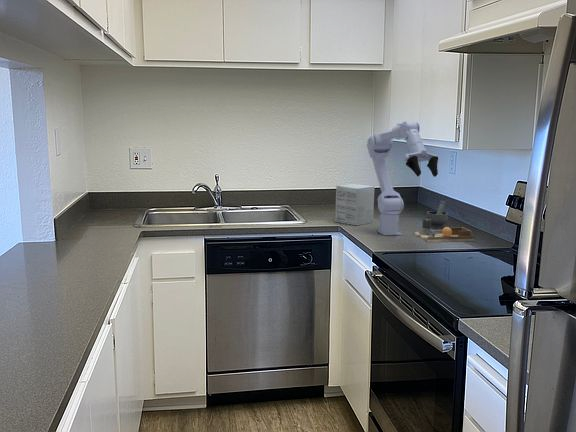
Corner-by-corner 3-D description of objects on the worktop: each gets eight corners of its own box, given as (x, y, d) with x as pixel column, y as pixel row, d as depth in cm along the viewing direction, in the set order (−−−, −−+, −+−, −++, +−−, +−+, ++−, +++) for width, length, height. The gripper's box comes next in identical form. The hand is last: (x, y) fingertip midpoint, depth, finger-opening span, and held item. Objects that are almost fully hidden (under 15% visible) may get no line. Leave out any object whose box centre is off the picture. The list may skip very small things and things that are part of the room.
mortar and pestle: (441, 230, 258) (443, 204, 256) (422, 227, 264) (423, 201, 262) (452, 227, 267) (454, 201, 265) (433, 224, 273) (435, 199, 271)
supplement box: (351, 218, 284) (353, 183, 281) (373, 222, 275) (375, 186, 272) (334, 221, 275) (335, 185, 272) (356, 226, 266) (357, 188, 263)
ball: (440, 235, 243) (440, 226, 242) (448, 235, 244) (449, 226, 243) (444, 237, 239) (444, 228, 239) (453, 237, 240) (453, 227, 239)
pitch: (413, 234, 250) (413, 224, 249) (456, 233, 254) (456, 224, 253) (428, 242, 235) (428, 232, 234) (473, 241, 238) (474, 231, 237)
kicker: (420, 232, 248) (421, 218, 247) (428, 232, 248) (429, 218, 247) (429, 237, 239) (430, 222, 238) (437, 236, 239) (438, 222, 238)
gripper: (405, 139, 221) (416, 168, 214) (437, 141, 226) (448, 169, 220) (397, 151, 227) (407, 179, 220) (427, 152, 232) (439, 179, 225)
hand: (427, 175), depth 220 cm, fingers open, 7 cm apart
